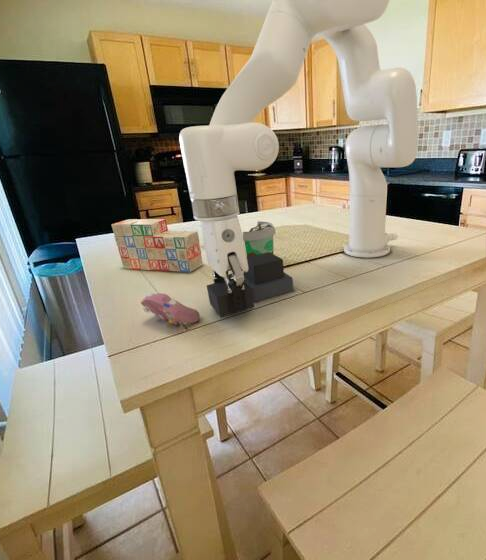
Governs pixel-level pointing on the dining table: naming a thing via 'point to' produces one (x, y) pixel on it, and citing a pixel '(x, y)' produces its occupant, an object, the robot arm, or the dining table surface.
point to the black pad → (220, 300)
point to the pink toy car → (169, 309)
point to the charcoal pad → (264, 268)
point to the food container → (259, 239)
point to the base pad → (270, 287)
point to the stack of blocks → (156, 246)
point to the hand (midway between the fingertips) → (231, 302)
